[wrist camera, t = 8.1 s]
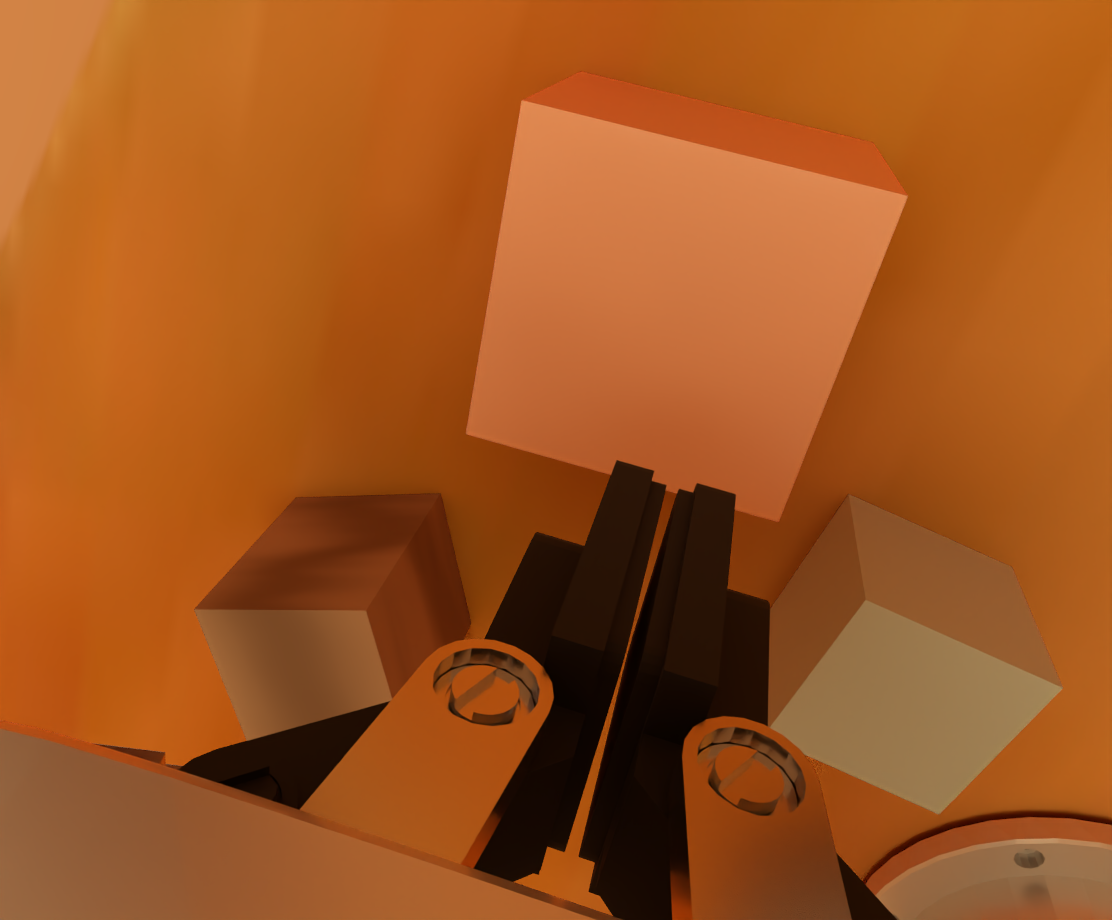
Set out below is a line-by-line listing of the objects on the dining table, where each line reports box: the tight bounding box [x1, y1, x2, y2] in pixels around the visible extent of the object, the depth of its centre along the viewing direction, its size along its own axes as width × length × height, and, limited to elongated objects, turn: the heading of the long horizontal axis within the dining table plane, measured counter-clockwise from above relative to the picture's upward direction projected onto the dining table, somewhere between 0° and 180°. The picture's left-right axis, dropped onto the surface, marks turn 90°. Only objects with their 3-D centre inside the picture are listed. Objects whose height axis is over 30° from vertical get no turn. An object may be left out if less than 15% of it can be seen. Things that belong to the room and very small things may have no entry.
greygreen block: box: [768, 494, 1063, 814], centre depth 24 cm, size 5×5×5 cm
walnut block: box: [194, 493, 471, 741], centre depth 27 cm, size 5×5×6 cm
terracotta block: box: [466, 71, 908, 522], centre depth 20 cm, size 7×7×6 cm
